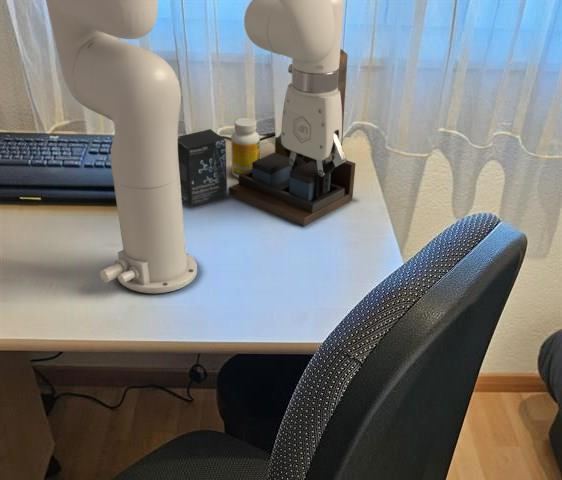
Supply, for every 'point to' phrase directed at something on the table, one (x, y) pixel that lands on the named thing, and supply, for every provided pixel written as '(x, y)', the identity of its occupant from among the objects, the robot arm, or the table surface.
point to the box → (202, 167)
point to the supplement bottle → (244, 146)
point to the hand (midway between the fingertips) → (309, 190)
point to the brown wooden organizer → (292, 205)
